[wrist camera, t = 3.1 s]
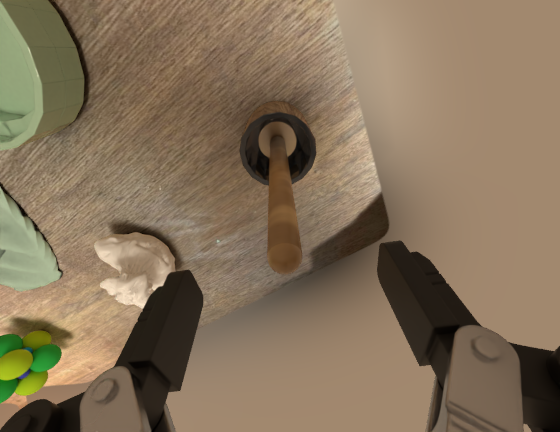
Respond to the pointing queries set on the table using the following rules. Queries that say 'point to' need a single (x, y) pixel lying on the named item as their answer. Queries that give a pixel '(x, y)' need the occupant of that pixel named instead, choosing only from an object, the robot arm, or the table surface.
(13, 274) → the cloth
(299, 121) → the crock
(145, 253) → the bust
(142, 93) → the table surface
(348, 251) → the table surface
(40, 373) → the molecule model
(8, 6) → the bowl
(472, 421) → the robot arm
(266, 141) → the wooden plunger
